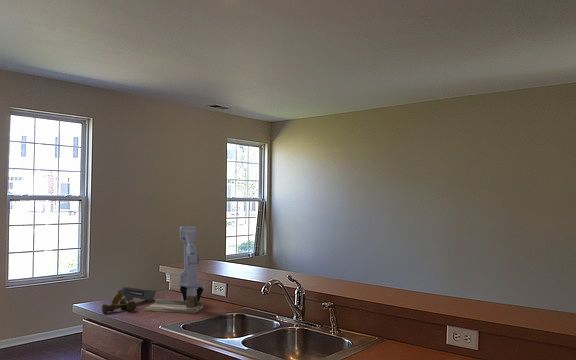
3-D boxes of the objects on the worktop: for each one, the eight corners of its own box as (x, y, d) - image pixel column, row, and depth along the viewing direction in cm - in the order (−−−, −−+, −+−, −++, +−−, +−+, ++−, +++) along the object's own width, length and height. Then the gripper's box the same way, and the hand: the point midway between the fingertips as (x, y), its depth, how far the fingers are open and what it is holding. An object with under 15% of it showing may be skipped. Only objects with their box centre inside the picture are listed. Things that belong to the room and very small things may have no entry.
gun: (148, 315, 287) (157, 290, 292) (112, 305, 271) (122, 279, 276) (146, 314, 290) (154, 289, 294) (109, 304, 273) (119, 278, 278)
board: (155, 305, 276) (156, 299, 276) (203, 308, 271) (203, 301, 271) (145, 310, 263) (145, 304, 263) (194, 313, 258) (194, 306, 258)
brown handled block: (189, 305, 270) (190, 295, 271) (196, 305, 270) (196, 295, 270) (182, 309, 261) (182, 299, 261) (189, 309, 260) (190, 299, 260)
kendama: (99, 312, 259) (135, 306, 273) (106, 316, 252) (143, 310, 266) (99, 301, 259) (135, 295, 273) (106, 305, 252) (143, 299, 265)
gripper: (176, 276, 266) (176, 301, 265) (202, 277, 263) (201, 303, 262) (181, 274, 272) (181, 299, 272) (206, 275, 270) (206, 300, 269)
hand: (191, 301), depth 268 cm, fingers open, 7 cm apart
